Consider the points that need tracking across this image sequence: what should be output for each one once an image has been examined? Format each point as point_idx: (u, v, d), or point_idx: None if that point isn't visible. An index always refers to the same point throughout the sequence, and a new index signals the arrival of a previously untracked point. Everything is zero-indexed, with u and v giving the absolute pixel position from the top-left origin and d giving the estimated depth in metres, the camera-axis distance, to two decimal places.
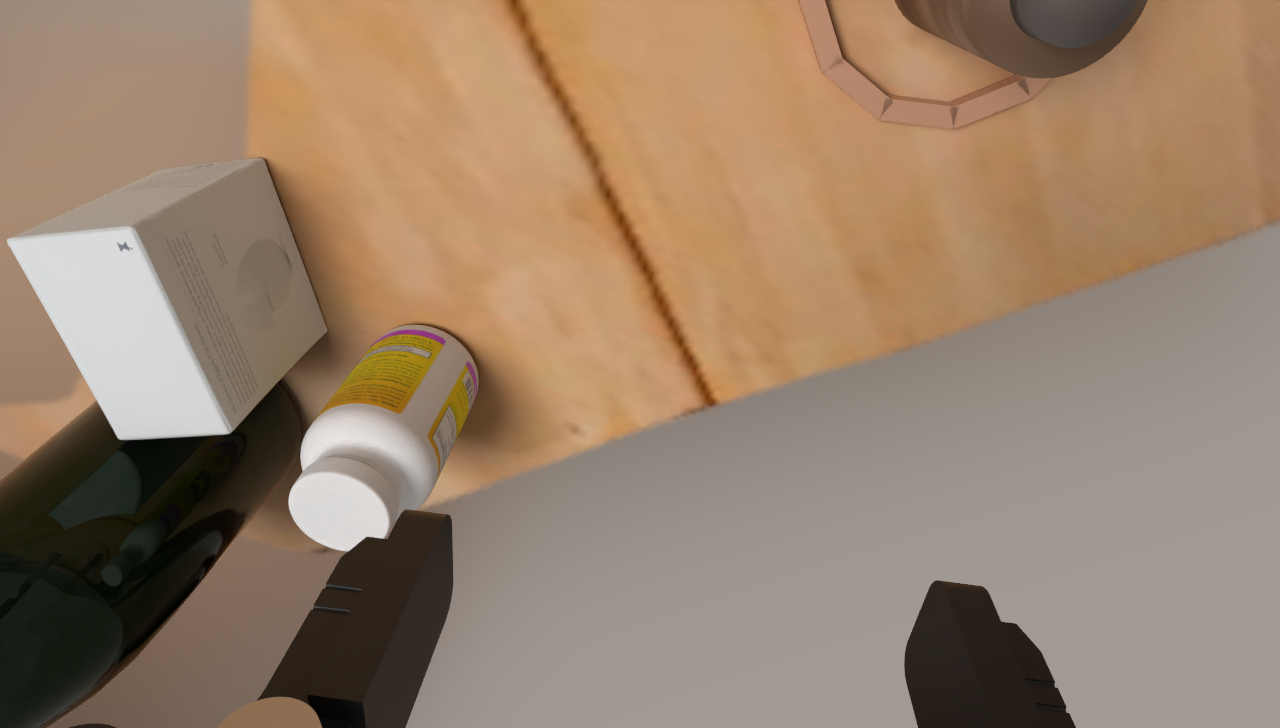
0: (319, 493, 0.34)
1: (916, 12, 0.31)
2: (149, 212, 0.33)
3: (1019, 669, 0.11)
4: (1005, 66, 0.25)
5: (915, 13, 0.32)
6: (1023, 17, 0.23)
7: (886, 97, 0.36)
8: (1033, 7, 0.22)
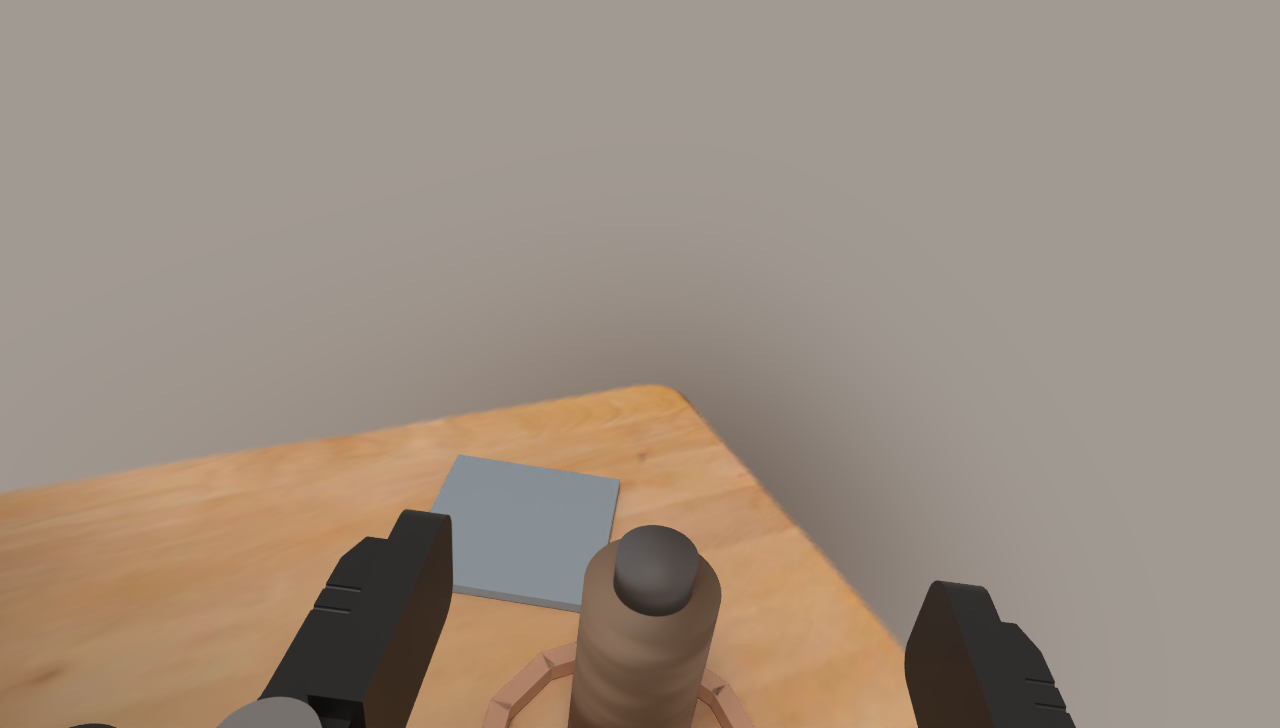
0: None
1: None
2: None
3: (1019, 669, 0.11)
4: (714, 613, 0.28)
5: None
6: (677, 594, 0.28)
7: None
8: (670, 582, 0.27)
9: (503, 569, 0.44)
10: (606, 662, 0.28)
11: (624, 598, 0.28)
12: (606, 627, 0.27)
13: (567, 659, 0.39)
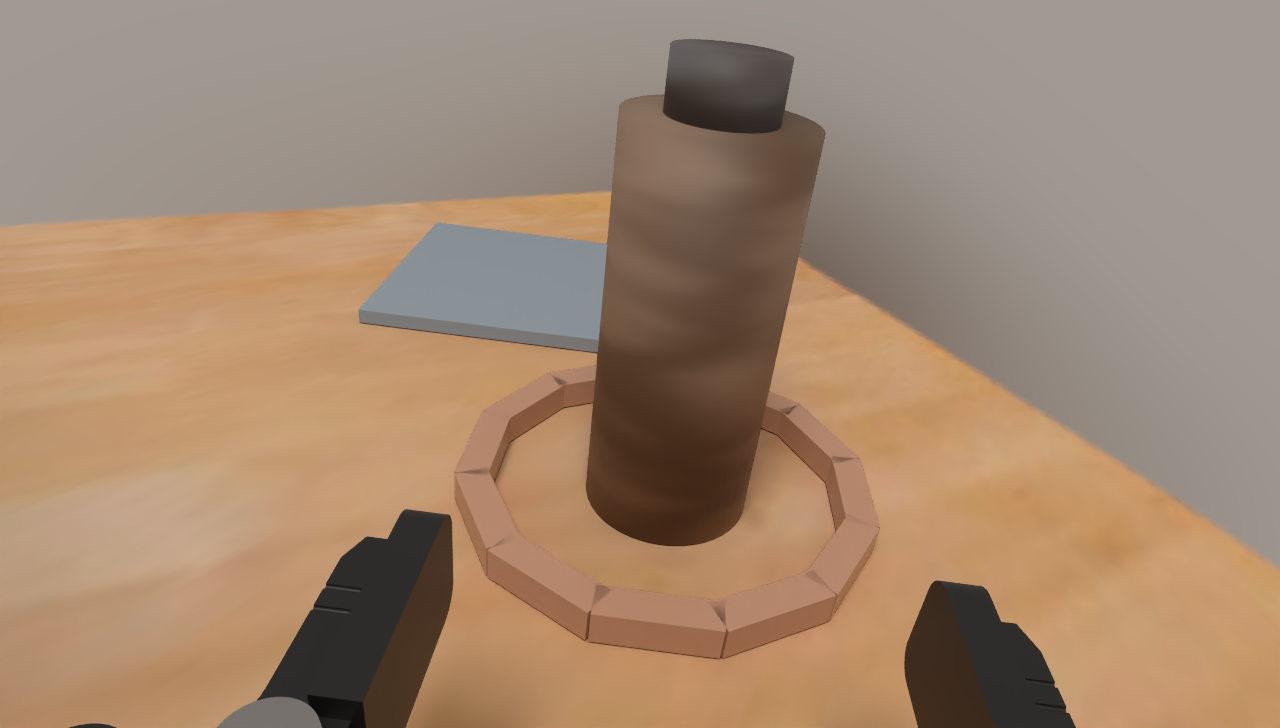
0: None
1: (736, 436, 0.22)
2: None
3: (1019, 669, 0.11)
4: (819, 137, 0.19)
5: (736, 444, 0.22)
6: (766, 89, 0.18)
7: (845, 521, 0.23)
8: (757, 60, 0.18)
9: (496, 309, 0.34)
10: (658, 212, 0.18)
11: (683, 110, 0.18)
12: (659, 138, 0.18)
13: (584, 379, 0.29)
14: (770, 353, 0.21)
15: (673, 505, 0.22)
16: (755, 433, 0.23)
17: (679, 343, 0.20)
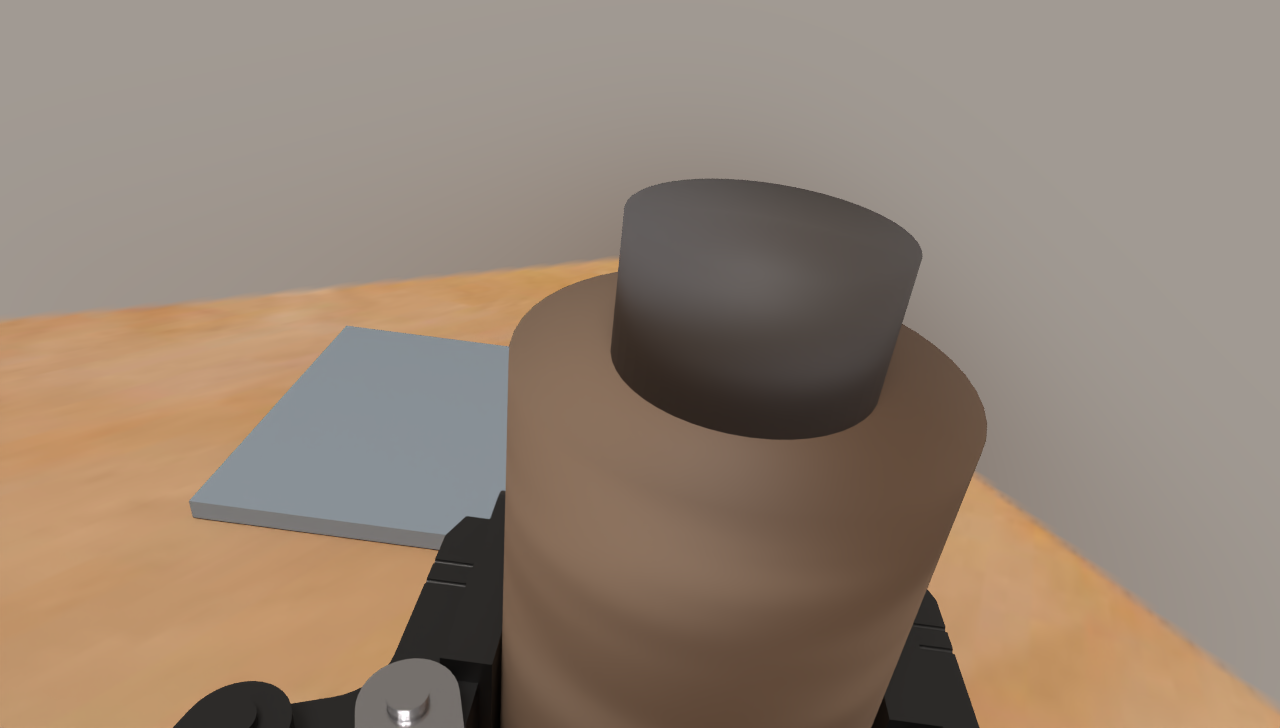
0: None
1: None
2: None
3: None
4: (979, 434, 0.08)
5: None
6: (862, 342, 0.07)
7: None
8: (843, 281, 0.07)
9: (400, 489, 0.23)
10: (593, 620, 0.08)
11: (654, 378, 0.08)
12: (588, 474, 0.07)
13: None
14: None
15: None
16: None
17: None
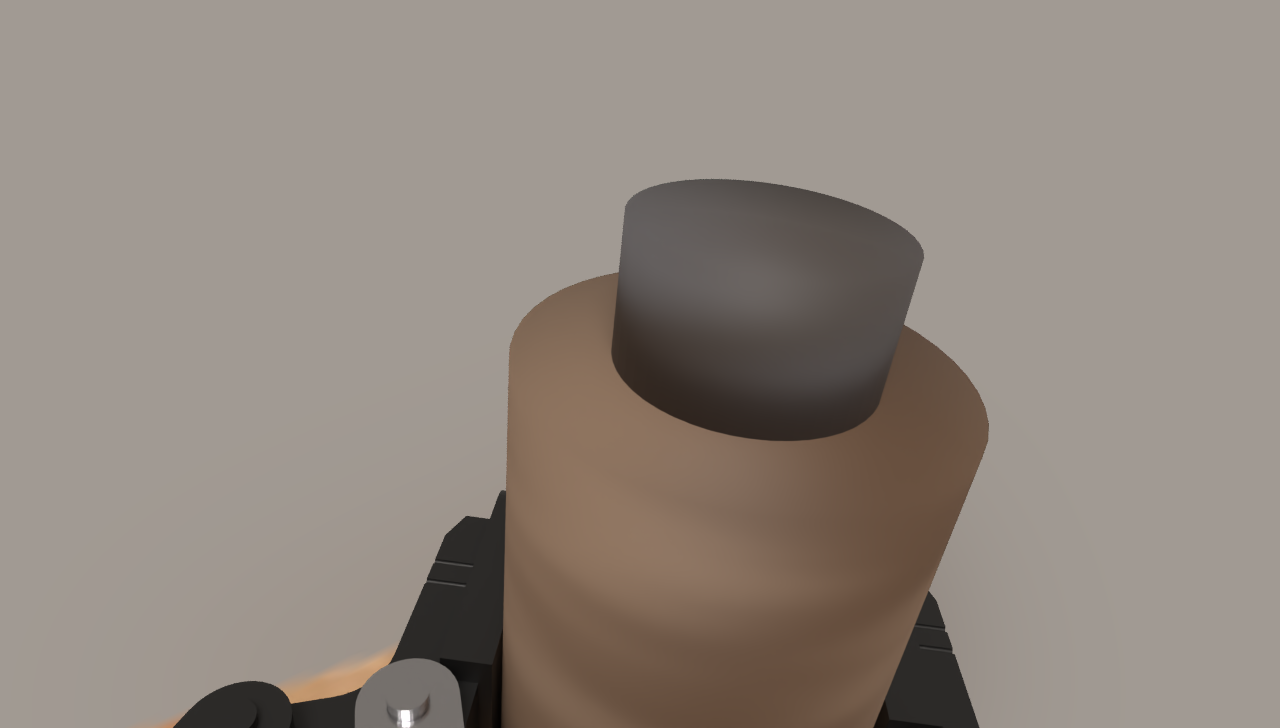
0: None
1: None
2: None
3: None
4: (981, 435, 0.08)
5: None
6: (863, 343, 0.07)
7: None
8: (844, 281, 0.07)
9: None
10: (594, 622, 0.08)
11: (655, 379, 0.07)
12: (589, 476, 0.07)
13: None
14: None
15: None
16: None
17: None
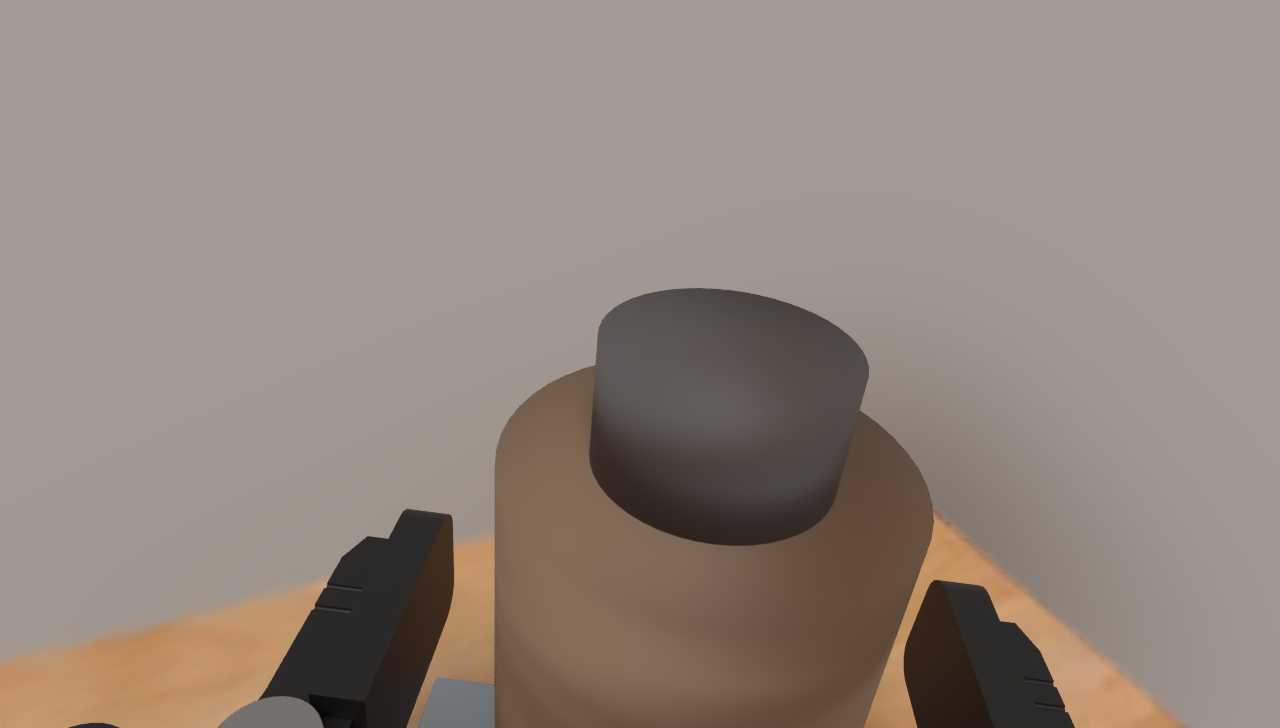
0: None
1: None
2: None
3: (1018, 669, 0.11)
4: (925, 533, 0.09)
5: None
6: (811, 460, 0.08)
7: None
8: (792, 409, 0.08)
9: None
10: (573, 710, 0.08)
11: (626, 489, 0.08)
12: (565, 585, 0.08)
13: None
14: None
15: None
16: None
17: None
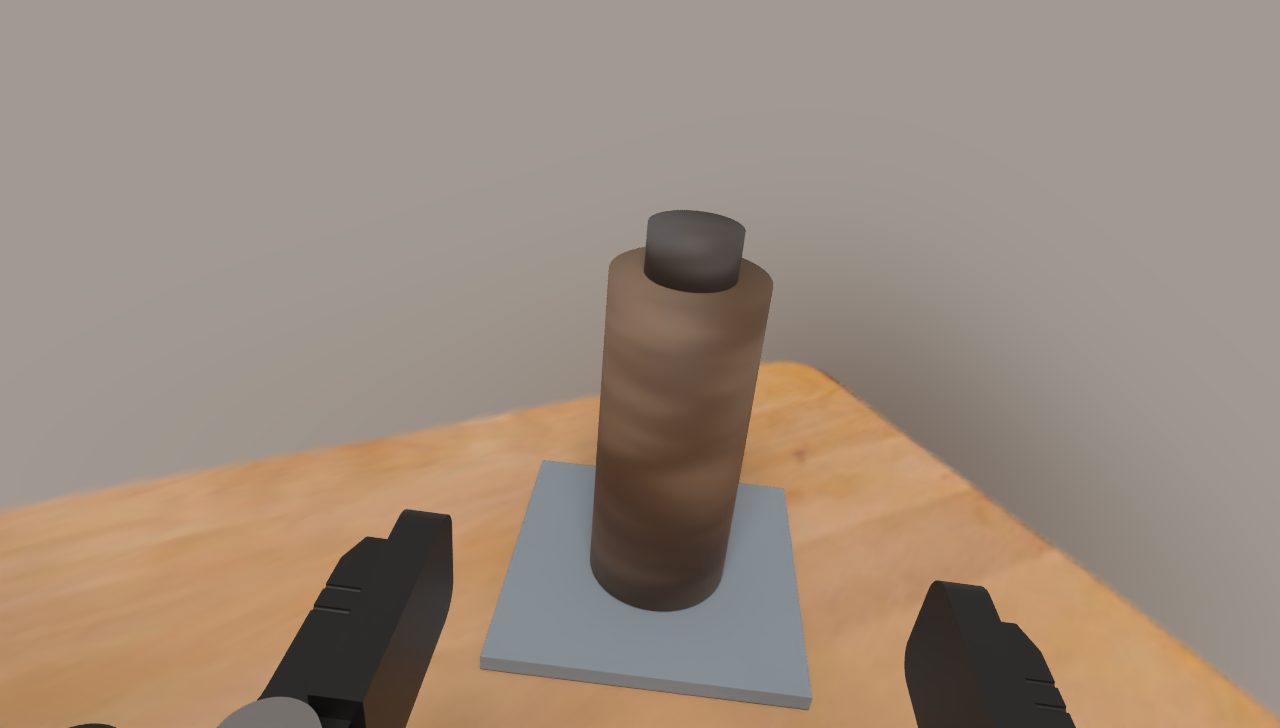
0: None
1: (710, 522, 0.27)
2: None
3: (1019, 669, 0.11)
4: (767, 293, 0.24)
5: (711, 529, 0.27)
6: (722, 260, 0.23)
7: None
8: (714, 241, 0.23)
9: (648, 637, 0.27)
10: (640, 355, 0.23)
11: (658, 275, 0.23)
12: (638, 301, 0.23)
13: None
14: (736, 456, 0.26)
15: (660, 579, 0.27)
16: (727, 518, 0.27)
17: (660, 453, 0.25)
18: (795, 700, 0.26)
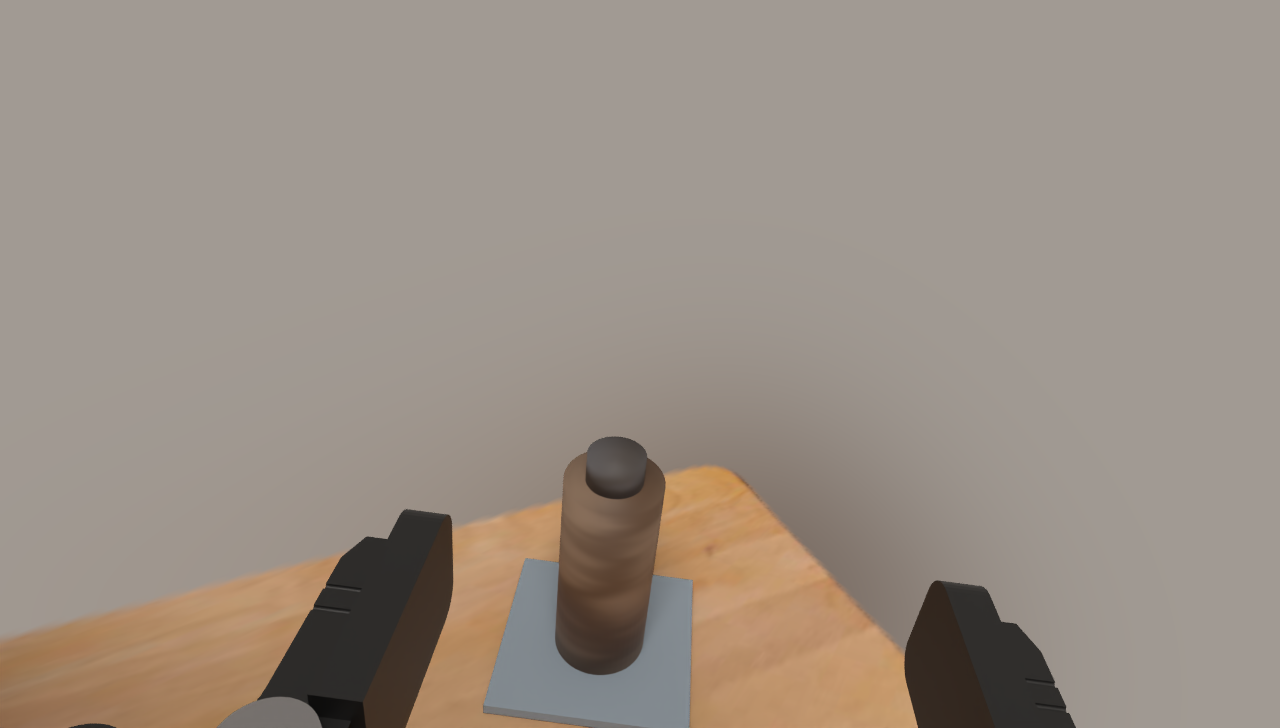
0: None
1: (628, 624, 0.42)
2: None
3: (1019, 669, 0.11)
4: (659, 497, 0.39)
5: (629, 627, 0.42)
6: (630, 481, 0.38)
7: None
8: (625, 472, 0.38)
9: (589, 692, 0.42)
10: (580, 534, 0.39)
11: (592, 486, 0.38)
12: (579, 506, 0.38)
13: None
14: (644, 585, 0.41)
15: (597, 656, 0.43)
16: (641, 618, 0.43)
17: (594, 587, 0.40)
18: None
